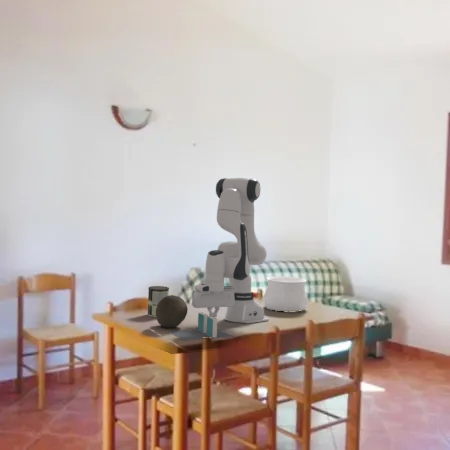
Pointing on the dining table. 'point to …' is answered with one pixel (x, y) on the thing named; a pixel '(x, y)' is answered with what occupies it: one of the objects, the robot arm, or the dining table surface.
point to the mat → (197, 334)
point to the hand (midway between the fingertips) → (213, 316)
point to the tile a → (202, 322)
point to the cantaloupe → (171, 311)
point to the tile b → (211, 326)
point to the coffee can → (156, 298)
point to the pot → (285, 294)
